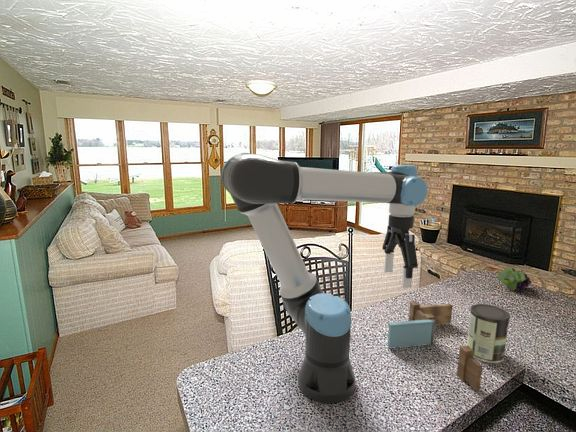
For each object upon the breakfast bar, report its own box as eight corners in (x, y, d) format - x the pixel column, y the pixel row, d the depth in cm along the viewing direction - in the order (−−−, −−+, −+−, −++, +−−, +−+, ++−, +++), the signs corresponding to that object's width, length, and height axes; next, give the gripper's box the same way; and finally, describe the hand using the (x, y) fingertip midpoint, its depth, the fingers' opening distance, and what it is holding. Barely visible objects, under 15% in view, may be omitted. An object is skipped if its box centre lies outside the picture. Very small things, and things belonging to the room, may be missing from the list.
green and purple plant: (530, 296, 151) (511, 294, 145) (509, 284, 161) (489, 281, 154) (541, 276, 149) (522, 273, 142) (518, 265, 158) (499, 261, 151)
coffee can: (496, 345, 108) (501, 305, 105) (510, 365, 98) (516, 321, 96) (461, 342, 110) (466, 302, 107) (471, 361, 100) (476, 317, 98)
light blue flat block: (431, 341, 110) (433, 319, 108) (434, 344, 108) (436, 321, 107) (387, 345, 108) (388, 322, 106) (389, 348, 106) (390, 325, 104)
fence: (473, 392, 88) (476, 361, 86) (408, 325, 121) (410, 301, 119) (525, 386, 90) (529, 356, 88) (447, 322, 123) (449, 299, 121)
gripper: (434, 222, 94) (428, 294, 98) (395, 207, 118) (391, 265, 122) (409, 223, 93) (403, 295, 97) (374, 208, 117) (371, 266, 121)
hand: (396, 279), depth 110 cm, fingers open, 12 cm apart
